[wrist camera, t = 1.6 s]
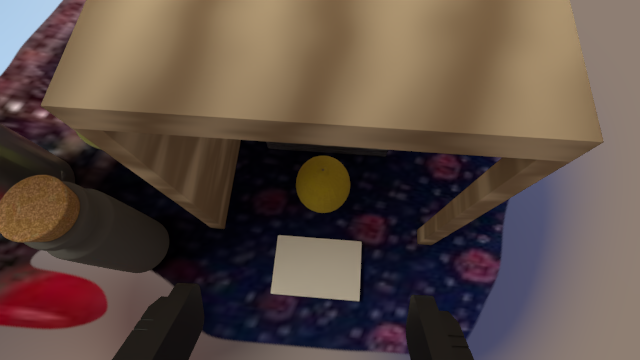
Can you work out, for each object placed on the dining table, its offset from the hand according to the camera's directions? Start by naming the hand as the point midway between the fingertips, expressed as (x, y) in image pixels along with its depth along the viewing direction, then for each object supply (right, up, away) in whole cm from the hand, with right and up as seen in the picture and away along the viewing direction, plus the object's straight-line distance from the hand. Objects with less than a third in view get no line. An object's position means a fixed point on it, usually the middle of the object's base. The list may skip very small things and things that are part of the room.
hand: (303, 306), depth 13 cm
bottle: (-18, -2, +24) cm, 30 cm away
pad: (0, -4, +23) cm, 23 cm away
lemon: (+1, +3, +26) cm, 26 cm away
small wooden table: (+1, +5, +26) cm, 27 cm away
